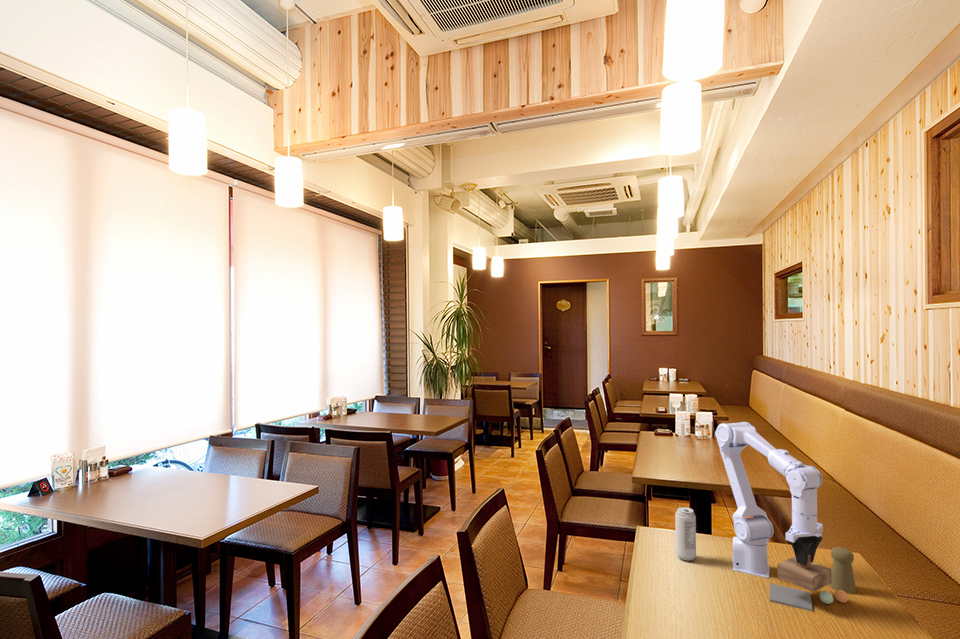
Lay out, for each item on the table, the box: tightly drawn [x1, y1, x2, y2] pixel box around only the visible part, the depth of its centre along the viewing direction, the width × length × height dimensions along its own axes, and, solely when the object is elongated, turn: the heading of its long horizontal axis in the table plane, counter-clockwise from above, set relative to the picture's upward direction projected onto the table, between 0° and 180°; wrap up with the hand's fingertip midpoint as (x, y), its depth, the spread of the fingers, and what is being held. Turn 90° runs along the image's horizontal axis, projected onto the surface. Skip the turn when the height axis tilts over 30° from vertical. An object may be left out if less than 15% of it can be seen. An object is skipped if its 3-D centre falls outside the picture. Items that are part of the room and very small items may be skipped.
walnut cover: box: [776, 555, 832, 593], centre depth 133 cm, size 9×9×7 cm
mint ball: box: [818, 590, 834, 605], centre depth 131 cm, size 3×3×3 cm
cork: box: [829, 546, 857, 595], centre depth 138 cm, size 6×6×11 cm
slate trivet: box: [769, 582, 813, 612], centre depth 134 cm, size 10×10×1 cm
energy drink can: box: [674, 506, 697, 562], centre depth 158 cm, size 6×6×15 cm
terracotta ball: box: [833, 590, 849, 604], centre depth 132 cm, size 3×3×3 cm
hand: (804, 562), depth 133 cm, fingers closed on walnut cover, 2 cm apart
